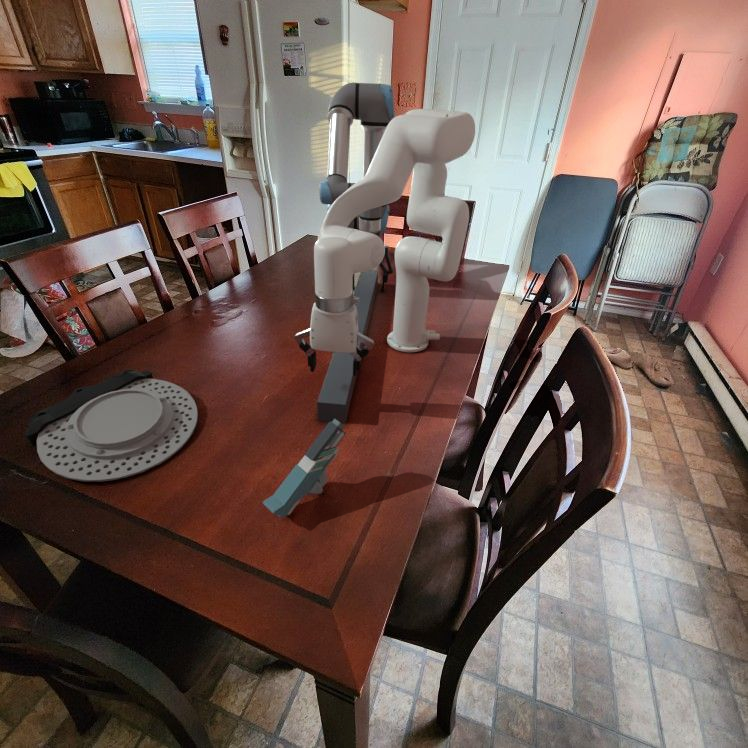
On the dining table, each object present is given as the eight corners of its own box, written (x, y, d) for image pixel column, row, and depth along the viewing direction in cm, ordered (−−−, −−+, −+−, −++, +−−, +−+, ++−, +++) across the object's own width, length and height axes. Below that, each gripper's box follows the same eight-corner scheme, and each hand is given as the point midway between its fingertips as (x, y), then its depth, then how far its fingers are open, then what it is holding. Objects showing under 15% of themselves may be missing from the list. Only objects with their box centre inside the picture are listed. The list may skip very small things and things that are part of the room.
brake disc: (18, 425, 89) (8, 408, 86) (155, 369, 108) (150, 354, 105) (75, 511, 73) (64, 493, 70) (224, 428, 92) (221, 411, 89)
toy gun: (362, 441, 81) (342, 423, 73) (302, 525, 77) (273, 515, 69) (349, 432, 83) (328, 413, 75) (290, 513, 79) (260, 502, 71)
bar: (345, 423, 95) (345, 404, 92) (317, 420, 95) (316, 402, 92) (377, 283, 163) (378, 270, 159) (361, 282, 163) (361, 269, 160)
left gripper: (403, 229, 147) (398, 287, 160) (338, 225, 149) (339, 283, 161) (402, 235, 141) (397, 295, 154) (335, 231, 142) (336, 290, 155)
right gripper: (377, 297, 87) (373, 365, 96) (296, 290, 88) (300, 358, 97) (374, 312, 81) (370, 383, 90) (287, 304, 81) (292, 376, 91)
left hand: (367, 289), depth 157 cm, fingers open, 11 cm apart
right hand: (334, 370), depth 94 cm, fingers open, 9 cm apart
